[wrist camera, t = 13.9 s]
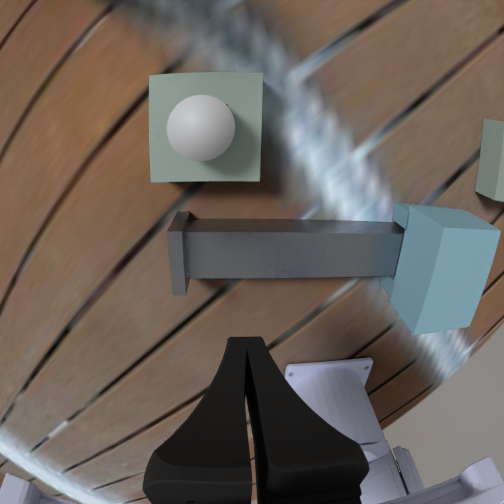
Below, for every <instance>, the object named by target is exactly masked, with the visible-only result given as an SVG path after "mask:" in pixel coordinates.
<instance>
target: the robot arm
mask: <svg viewBox="0 0 504 504" xmlns="http://www.w3.org/2000/svg"><path fill="white" fill-rule="evenodd" d="M372 364H373V360H372V358H369V357H368V358H359V359H349V360H339V361H327V362H314V363H298V364H289V365H288V366H287V367H286V370H285V377H284V376H283V375H282V373H281V372H280V370H279V368H278V367H277V365H276V364H275V362H274V360H273V359H272V357H271V355H270V353H269V351H268V349H267V347H266V345H265V343H264V340H263V338H262V337H230V338H228V339H227V346H226V350H225V353H224V356H223V359H222V361H221V364H220V366H219V369H218V371H217V373H216V375H215V377H214V379H213V381H212V383H211V385H210V387H209V388H208V390H207V392H206V393H205V395H204V397H203V398H202V400H201V401H200V403H199V404H198V405H197V407H196V408H195V409H194V411H193V412H192V413H191V415H190V416H189V417H188V418H187V420H186V421H185V422H184V423H183V424H182V425H181V426H180V427H179V428H178V429H177V430H176V431H175V433H174V434H173V435H172V436H171V437H169V438H168V439H167V440H166V441H165V442H164V443H163V444H162V445H160V446H159V447H158V448H157V449H156V450H155V451H154V452H153V454H152V456H151V458H150V460H149V462H148V465H147V468H146V471H145V474H144V481H143V487H142V489H143V492H144V493H145V495H146V496H147V498H148V499H149V501H150V502H151V504H251V495H252V471H251V461H250V453H249V444H248V434H247V423H246V411H245V397H246V398H247V404H248V411H249V417H250V422H251V428H252V434H253V441H254V453H255V469H256V485H257V503H258V504H503V503H504V482H503V480H502V479H501V476H500V474H499V472H498V471H497V469H496V467H495V465H494V463H493V461H492V459H491V458H490V456H487V457H485V458H484V459H481V460H479V461H477V462H475V463H473V464H471V465H469V466H468V467H466V468H465V469H464V470H463V471H462V472H461V473H460V474H459V476H457V477H455V478H452V479H450V480H447V481H445V482H442V483H440V484H437V485H435V486H432V487H429V488H427V489H424V486H423V483H422V481H421V478H420V475H419V473H418V470H417V468H416V466H415V463H414V461H413V459H412V456H411V454H410V452H409V450H407V449H405V448H401V447H400V446H397V447H396V448H394V449H393V451H394V454H395V456H396V459H397V460H396V461H397V464H398V466H397V464H396V461H395V459H394V456H393V454H392V452H391V449H390V447H389V445H388V443H387V440H385V437H384V435H383V432H382V430H381V427H380V425H379V422H378V420H377V417H376V415H375V412H374V410H373V408H372V405H371V403H370V400H369V398H368V396H367V393H366V391H365V388H364V387H365V384H366V381H367V378H368V376H369V373H370V370H371V367H372ZM290 373H291V374H290ZM398 467H399V469H398ZM399 470H400V472H399ZM0 504H80V503H76V502H72V501H69V500H66V499H62V498H59V497H56V496H53V495H50V494H47V493H44V492H42V491H41V490H40V489H39V488H38V487H37V486H36V485H35V484H33V483H31V482H30V481H27V480H25V479H22V478H20V477H17V476H15V475H12V474H10V473H6V475H5V478H4V481H3V483H2V486H1V489H0Z"/></svg>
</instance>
